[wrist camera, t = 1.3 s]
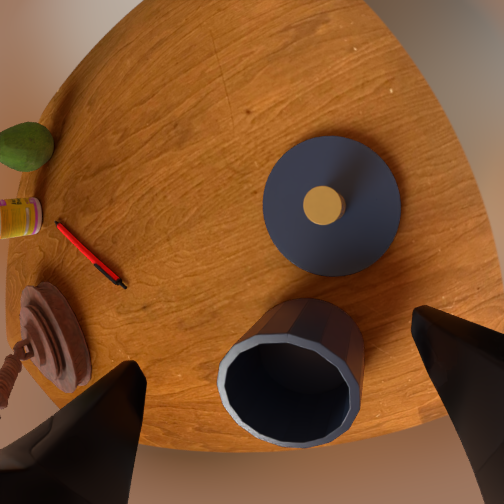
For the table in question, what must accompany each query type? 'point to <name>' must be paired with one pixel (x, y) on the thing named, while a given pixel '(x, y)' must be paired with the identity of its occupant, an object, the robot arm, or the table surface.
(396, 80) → the table surface
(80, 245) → the pen
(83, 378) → the desk lamp
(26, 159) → the fruit
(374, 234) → the canister lid
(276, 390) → the canister
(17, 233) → the supplement bottle
